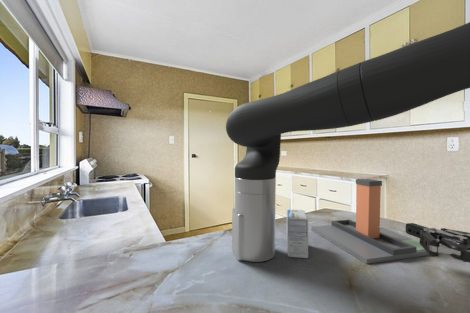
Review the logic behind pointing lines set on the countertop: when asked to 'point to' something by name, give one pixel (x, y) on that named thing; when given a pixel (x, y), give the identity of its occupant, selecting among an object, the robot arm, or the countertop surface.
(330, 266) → the countertop surface
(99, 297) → the countertop surface
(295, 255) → the medicine box
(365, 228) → the handle
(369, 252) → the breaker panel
